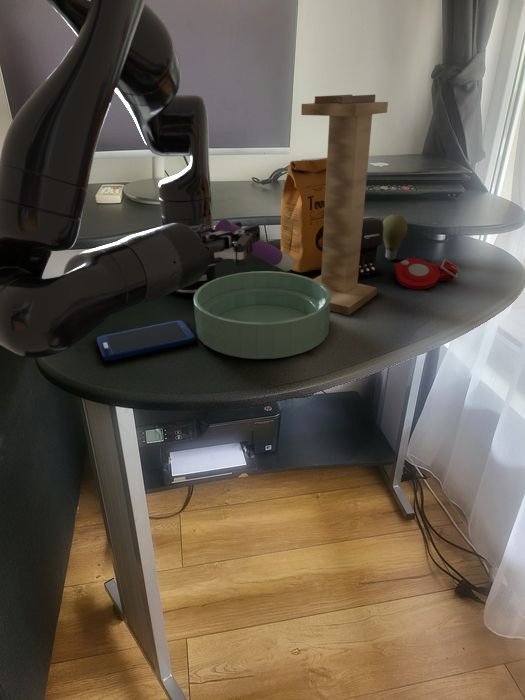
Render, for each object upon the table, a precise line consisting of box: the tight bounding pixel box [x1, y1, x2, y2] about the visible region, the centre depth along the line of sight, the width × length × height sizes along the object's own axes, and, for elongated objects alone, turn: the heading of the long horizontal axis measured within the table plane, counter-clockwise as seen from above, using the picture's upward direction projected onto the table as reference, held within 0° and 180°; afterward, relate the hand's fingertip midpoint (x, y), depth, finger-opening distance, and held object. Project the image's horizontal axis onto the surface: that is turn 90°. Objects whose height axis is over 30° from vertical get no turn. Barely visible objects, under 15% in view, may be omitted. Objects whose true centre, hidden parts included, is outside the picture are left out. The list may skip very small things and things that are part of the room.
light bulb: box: [382, 213, 409, 262], centre depth 104 cm, size 6×6×10 cm
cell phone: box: [96, 319, 196, 362], centre depth 74 cm, size 7×14×1 cm, turn 115°
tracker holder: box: [393, 257, 461, 290], centre depth 95 cm, size 12×4×10 cm
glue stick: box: [215, 219, 295, 272], centre depth 70 cm, size 18×3×3 cm, turn 142°
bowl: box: [192, 270, 331, 360], centre depth 76 cm, size 21×21×6 cm
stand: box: [300, 94, 389, 316], centre depth 81 cm, size 12×11×33 cm
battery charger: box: [358, 216, 384, 278], centre depth 96 cm, size 7×4×11 cm, turn 116°
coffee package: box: [280, 157, 327, 274], centre depth 98 cm, size 10×12×22 cm
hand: (248, 230), depth 67 cm, fingers closed on glue stick, 2 cm apart
